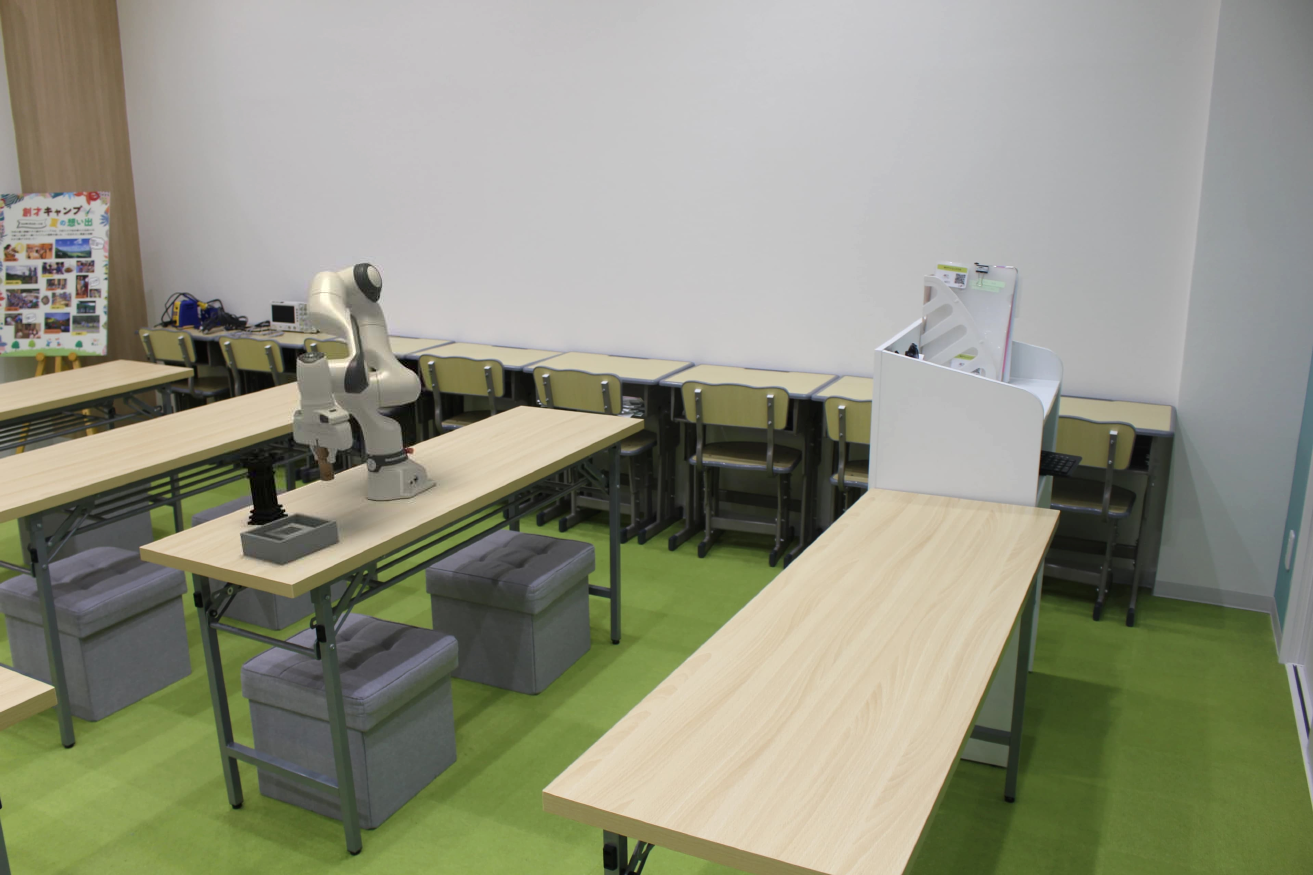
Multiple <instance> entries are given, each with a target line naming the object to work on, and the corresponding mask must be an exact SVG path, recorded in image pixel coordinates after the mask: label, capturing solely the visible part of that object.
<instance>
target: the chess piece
mask: <svg viewBox="0 0 1313 875" xmlns="http://www.w3.org/2000/svg"><path fill="white" fill-rule="evenodd" d="M277 456H278V452H277V451H270V452H268V455H261V451H259V450H257V451H255V450H254V451H252V452H251V457H250V458H249V456H242V457H241V456H240V457H239V458H238V459H239V462H240V463H242V468H243V469H247V472H248V474H247V476H246V479H248V480H249V487H250V493H251V499H252V500H251V501H252V506H253V508H252V509H251V510H249V514H250V515H249V516H248V520H249V521H247V525H248V526H262V525H265V524H267V523H270V522H273V521H276V520H279V519H281V518H284V517H287V516H289V514H288V513H286V509H285V508H283V507H284V505H283V504H281V503H280V504H279V501H278V495H277V494H278V493H277V488H276V486H277V485H276V480H275V475H276V470H274V466H273V465H274V464H276V463H277V458H276V457H277Z"/></svg>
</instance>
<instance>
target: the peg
mask: <svg viewBox="0 0 1313 875" xmlns="http://www.w3.org/2000/svg"><path fill="white" fill-rule="evenodd" d="M316 443H317V444H316V449H317V456H318V463H317V464H318V470H319V476H320V481H322V482H329V481H332V480H334V479H335V472H334V465H333V463H328V462H327V458H326V457H327V456H329V451H328V448H325V447H320V446H319V445H318V439H316Z"/></svg>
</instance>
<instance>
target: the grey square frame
mask: <svg viewBox="0 0 1313 875" xmlns="http://www.w3.org/2000/svg"><path fill="white" fill-rule="evenodd" d="M310 529H313V528H312V527H308V526H303V525H299V524H295V523H291V524H288V525H286V526H283V527H280V528H277V529H275V530H272V531H269V532H267V533H264V537H266V538H270V539H274V540H278V541H281V540H284V539H287V538H289V537H292V536H295V535H297V534H300V533H302V532H305V531H308V530H310Z"/></svg>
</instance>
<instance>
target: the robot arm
mask: <svg viewBox="0 0 1313 875" xmlns="http://www.w3.org/2000/svg"><path fill="white" fill-rule="evenodd" d="M382 288H383V280H382V276H381V274H380V272H379V270H378V269H377V268H376V267H375V266H374V265H373V264H370V263H369V262H363V263H358V264H355V265H354V266H348V267H346V268H343V269H341V270H339V271H337V272H334V271H331V270H324V271H323V270H322V271H320V272H318V273H316V274H315V275H314V276H313V278H312V280H311V282H310V286H309V289H308V294H307V298H306V299H307V301H306V316H307V320H308V323H309V324H310V325H311V326H312V327H313V328H314V329H316V331H318V332H320V333H323V334H326V335H329V336H334V337H337V338H341V339H343V340H345V341H346V343H347V348H348V355H349V356H348V357H345V358H337V359H336V358H334V359H333V358H332V359H328V358H327V355H326V354H325V353H324V352H321V351H309V352H306V353H303V354H301V355H299V356H298V357H297V358H296V375H295V376H296V382H297V388H298V392H299V395H300V402H299V404H300V409H297V410H296V411H295V412H294V413H293V421H292V432H293V434H292V436H293V440H294V441H295V443H297V444H304V445H309V448H310V451H311V452H312V454H313V455H314V460H315V461H318V456H317V449H316V444H317V443H316V439H318V445H319V446H320V447H325V448H328V451H329V456H327V457H326V458H327V462H328V463H332V464H333V463H335V462H336V455H337V452H338V451H345V450H347V449H350V448H352V446H353V433H352V432H353V431H352V427H351V424H350V422H349V421H348V420H349V419H350V414H351V416H353V417H354V418H355V419H356V421H357V422H358V424H359V427H361V431H362V435H363V438H364V439H363V440H364V445H365V452H364V454H365V455H364V456H365V457H364V458H365V464H366V467H367V468H366V469H367V487H366V494H365V497H366V498H367V499H369V500H373V501H389V500H390V501H392V500H398V499H409V498H410V499H411V498H413V497H415V496H417V495H419V494H420V493H422V492H424V491H426V490H428V489H430V488H432V487H434V486H435V485H436V484H437V482H436V480H434V479H431V478H428V474H427V470H426V468H425V467H424V466H423V465H422V464H420V463H418V462H417V461H415V460H413V459H411V458H410V457H409V455H413V454H414V452H415V449H414V448H413V447H410V446H409V447H408V446H407V447H403V445H404V444H403V435H402V427H401V424H400V423H399V422H398V421H396V420H395V419H393V418H391V417H387V416H385V415H382V414H380V413H379V412H378V409H379V408H382V407H383V408H385V407H393V406H402V405H405V404H408V403H409V404H410V403H412V402H415V401H417V399H418V398H419V396H420V395H421V390H422V383H421V380H420V378H419V376H418V375H417V374H416V373H415V372H414V371H413V370H412V369H409V368H407V367H405V366H404V365H403V364H402V363H401V362H399V360H398V359H397V358H396V356H395V354H394V353H393V351H392V348H391V343H390V338H389V332H388V327H387V321H386V318H385V314H384V312H383V309H382V306H381V304H380V303H379V302H378V301H379V300H380V298H381V293H382V291H383V289H382ZM348 310H349V312H348ZM369 367H371V368H372V369H374V370H375V371H370V369H369ZM408 454H409V455H408Z"/></svg>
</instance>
